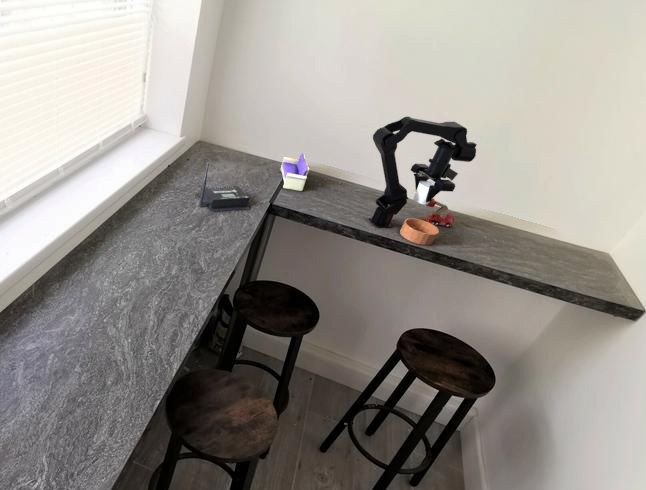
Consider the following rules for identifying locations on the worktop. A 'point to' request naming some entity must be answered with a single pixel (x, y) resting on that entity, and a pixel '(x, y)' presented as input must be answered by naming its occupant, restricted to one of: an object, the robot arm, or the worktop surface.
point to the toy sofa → (294, 172)
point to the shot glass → (422, 192)
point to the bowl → (419, 231)
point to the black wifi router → (223, 197)
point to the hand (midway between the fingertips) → (422, 198)
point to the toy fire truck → (436, 217)
